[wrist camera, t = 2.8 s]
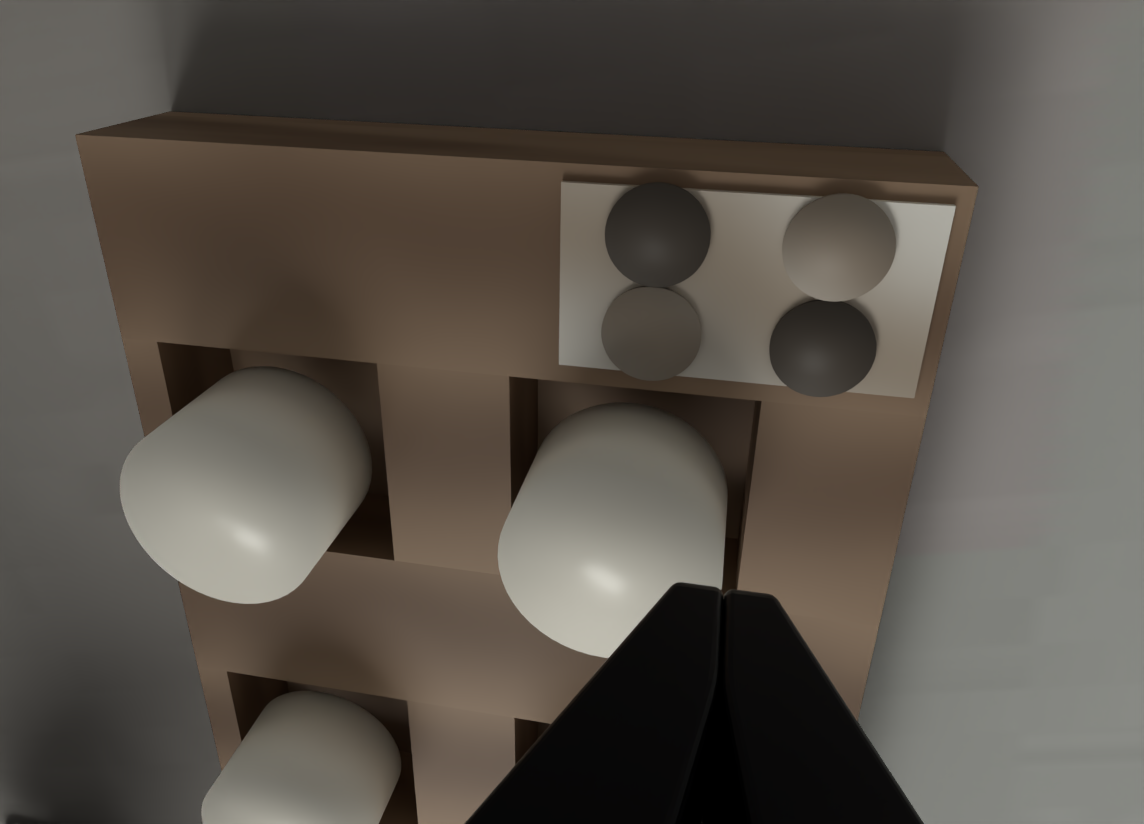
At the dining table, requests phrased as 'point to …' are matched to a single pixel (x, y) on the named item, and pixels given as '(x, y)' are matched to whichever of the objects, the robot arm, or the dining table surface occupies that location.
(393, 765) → the inner button
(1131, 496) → the dining table surface
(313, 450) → the inner button
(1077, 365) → the dining table surface
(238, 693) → the button board
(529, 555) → the outer button
